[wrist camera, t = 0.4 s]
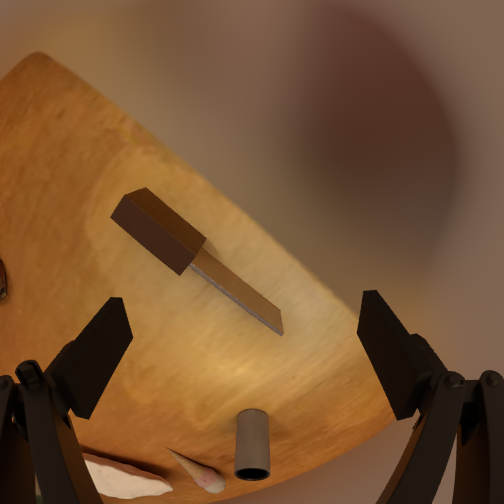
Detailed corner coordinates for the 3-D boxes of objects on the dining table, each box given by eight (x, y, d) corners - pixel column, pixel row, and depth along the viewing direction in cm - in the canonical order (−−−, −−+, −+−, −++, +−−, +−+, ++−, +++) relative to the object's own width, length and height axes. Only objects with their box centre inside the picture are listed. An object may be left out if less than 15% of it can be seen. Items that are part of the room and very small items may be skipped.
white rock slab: (45, 442, 45) (37, 469, 37) (117, 436, 39) (109, 478, 30) (111, 478, 55) (107, 502, 47) (199, 475, 48) (198, 508, 40)
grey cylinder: (236, 424, 38) (232, 479, 28) (239, 407, 36) (235, 466, 26) (265, 426, 38) (267, 481, 28) (270, 409, 36) (273, 468, 27)
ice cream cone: (159, 447, 43) (212, 487, 43) (156, 459, 38) (214, 500, 39) (175, 435, 44) (229, 476, 44) (174, 447, 40) (232, 489, 40)
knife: (132, 206, 27) (109, 217, 22) (145, 187, 26) (124, 194, 22) (271, 318, 31) (273, 346, 26) (287, 303, 30) (292, 330, 26)
